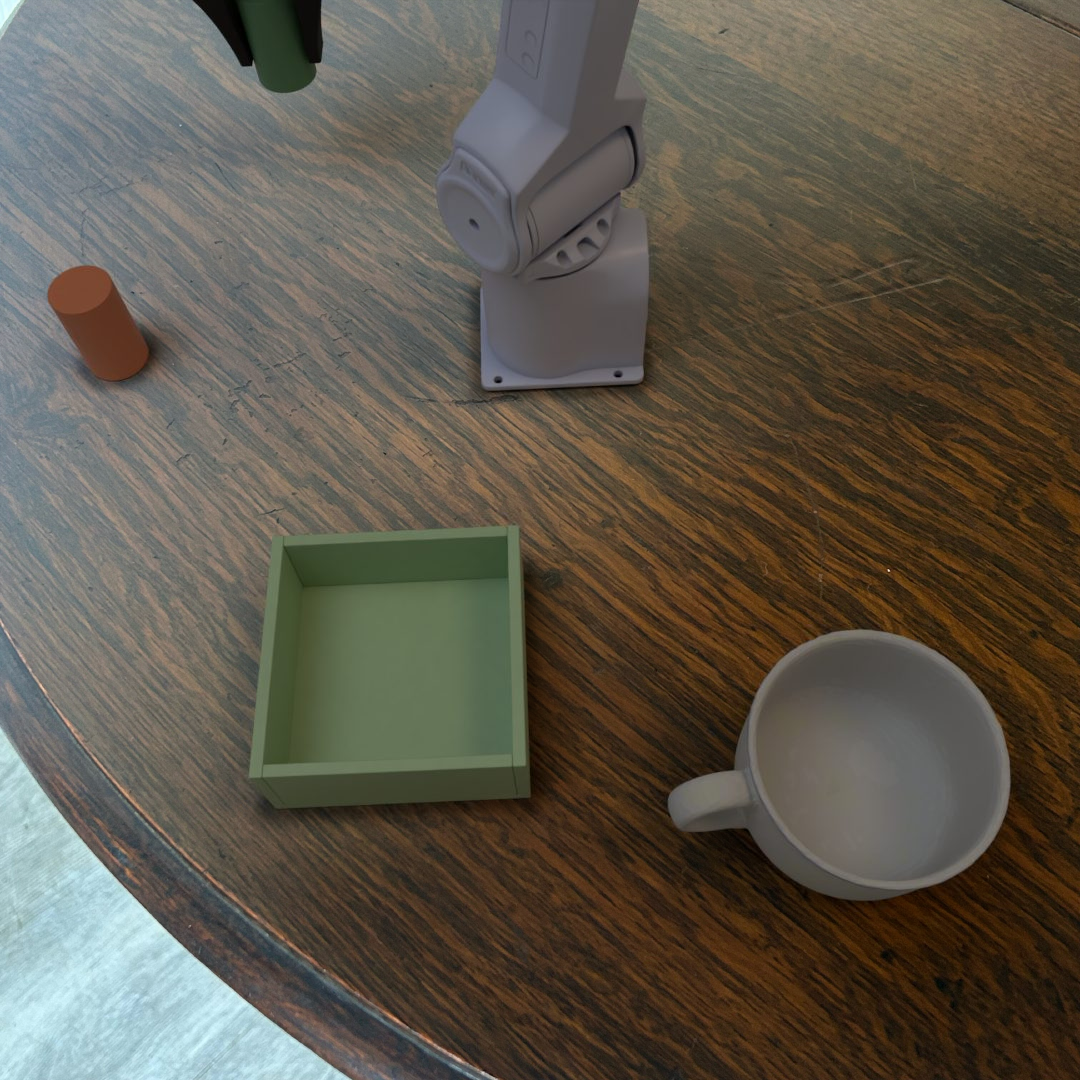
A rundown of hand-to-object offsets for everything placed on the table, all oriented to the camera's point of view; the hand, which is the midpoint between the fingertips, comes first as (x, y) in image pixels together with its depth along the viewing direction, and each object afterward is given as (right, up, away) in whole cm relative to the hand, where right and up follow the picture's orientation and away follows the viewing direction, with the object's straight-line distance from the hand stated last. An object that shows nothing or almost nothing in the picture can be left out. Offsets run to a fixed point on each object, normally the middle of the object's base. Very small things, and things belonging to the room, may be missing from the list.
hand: (283, 54), depth 66 cm
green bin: (+9, -37, -11) cm, 40 cm away
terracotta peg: (-10, -19, -1) cm, 21 cm away
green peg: (0, -1, +1) cm, 1 cm away
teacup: (+28, -42, -15) cm, 53 cm away
